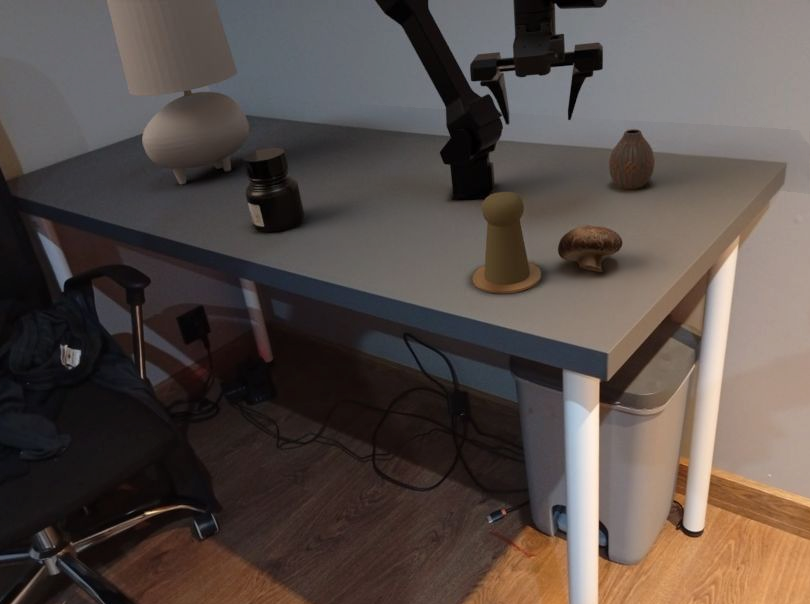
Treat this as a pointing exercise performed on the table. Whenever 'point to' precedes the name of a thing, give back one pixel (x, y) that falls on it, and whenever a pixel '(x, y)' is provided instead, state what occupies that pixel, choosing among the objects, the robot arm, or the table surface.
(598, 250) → the mushroom
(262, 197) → the ink bottle
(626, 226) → the table surface
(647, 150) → the vase
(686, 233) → the table surface
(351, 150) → the table surface
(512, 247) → the pepper shaker
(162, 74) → the table lamp
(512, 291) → the coaster
